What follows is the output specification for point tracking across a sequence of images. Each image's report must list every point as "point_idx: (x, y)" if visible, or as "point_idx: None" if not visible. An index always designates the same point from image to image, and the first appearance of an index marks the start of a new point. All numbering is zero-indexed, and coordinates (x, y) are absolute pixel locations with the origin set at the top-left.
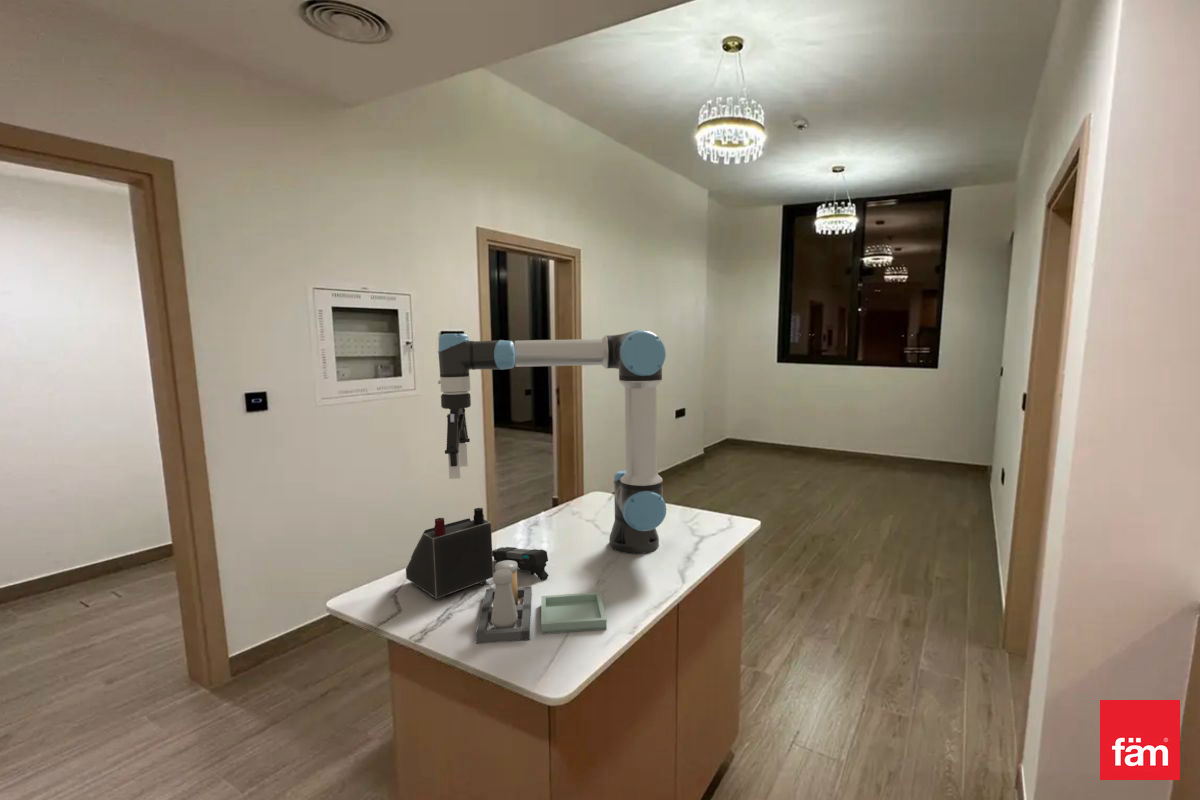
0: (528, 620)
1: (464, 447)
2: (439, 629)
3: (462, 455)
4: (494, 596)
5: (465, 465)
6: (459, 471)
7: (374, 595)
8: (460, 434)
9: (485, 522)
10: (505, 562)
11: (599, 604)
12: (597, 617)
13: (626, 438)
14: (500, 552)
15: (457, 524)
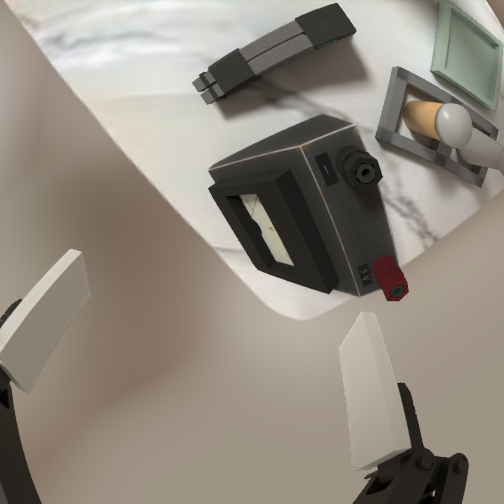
0: (482, 119)
1: (20, 345)
2: (429, 217)
3: (52, 317)
4: (490, 167)
5: (80, 265)
6: (383, 344)
7: (291, 290)
8: (10, 452)
9: (352, 140)
10: (448, 123)
11: (475, 23)
12: (481, 37)
13: None
14: (241, 85)
15: (302, 215)
